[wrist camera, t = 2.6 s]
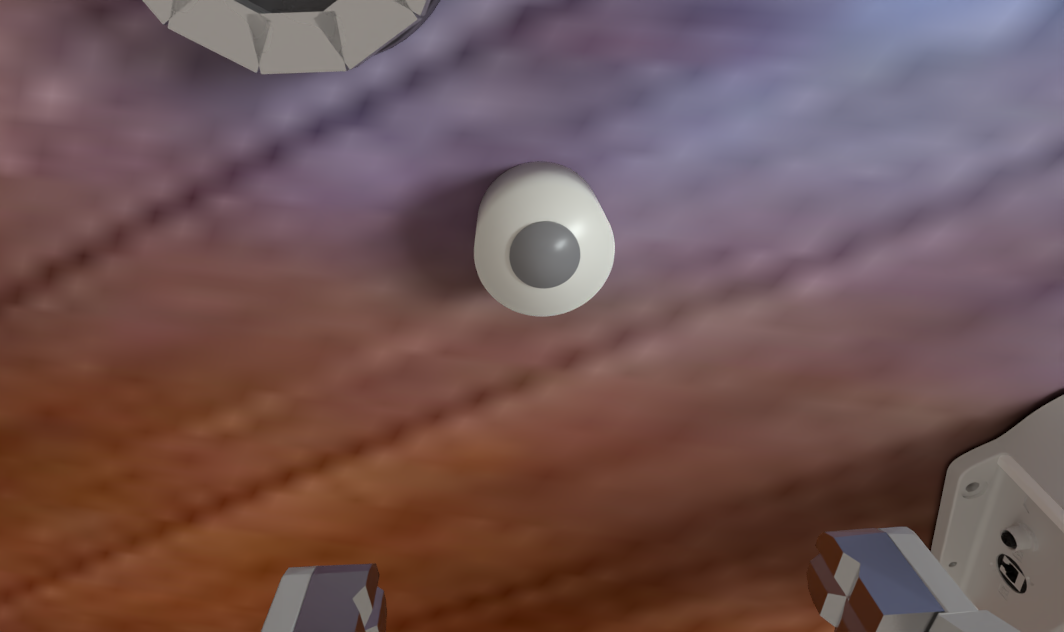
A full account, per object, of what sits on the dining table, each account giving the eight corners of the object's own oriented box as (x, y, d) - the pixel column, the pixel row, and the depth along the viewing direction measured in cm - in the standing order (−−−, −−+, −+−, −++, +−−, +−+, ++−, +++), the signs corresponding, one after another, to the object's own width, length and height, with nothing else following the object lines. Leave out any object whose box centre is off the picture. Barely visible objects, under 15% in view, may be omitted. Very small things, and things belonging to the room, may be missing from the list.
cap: (598, 275, 28) (612, 314, 25) (482, 281, 28) (479, 322, 24) (601, 158, 25) (618, 183, 22) (472, 163, 25) (467, 189, 22)
